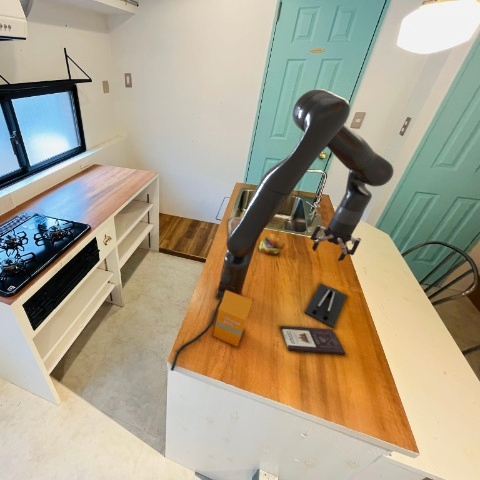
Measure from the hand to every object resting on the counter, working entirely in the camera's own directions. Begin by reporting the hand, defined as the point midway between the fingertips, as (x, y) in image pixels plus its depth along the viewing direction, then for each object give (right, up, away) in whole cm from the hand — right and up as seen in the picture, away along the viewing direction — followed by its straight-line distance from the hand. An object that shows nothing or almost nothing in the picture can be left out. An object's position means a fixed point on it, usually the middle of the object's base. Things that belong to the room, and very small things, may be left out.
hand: (326, 255), depth 96 cm
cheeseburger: (-6, 0, +35) cm, 36 cm away
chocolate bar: (-10, -30, -7) cm, 32 cm away
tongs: (+3, -20, +6) cm, 21 cm away
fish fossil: (-18, +12, +51) cm, 55 cm away
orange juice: (-38, -28, -5) cm, 48 cm away
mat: (+4, -20, +6) cm, 22 cm away
